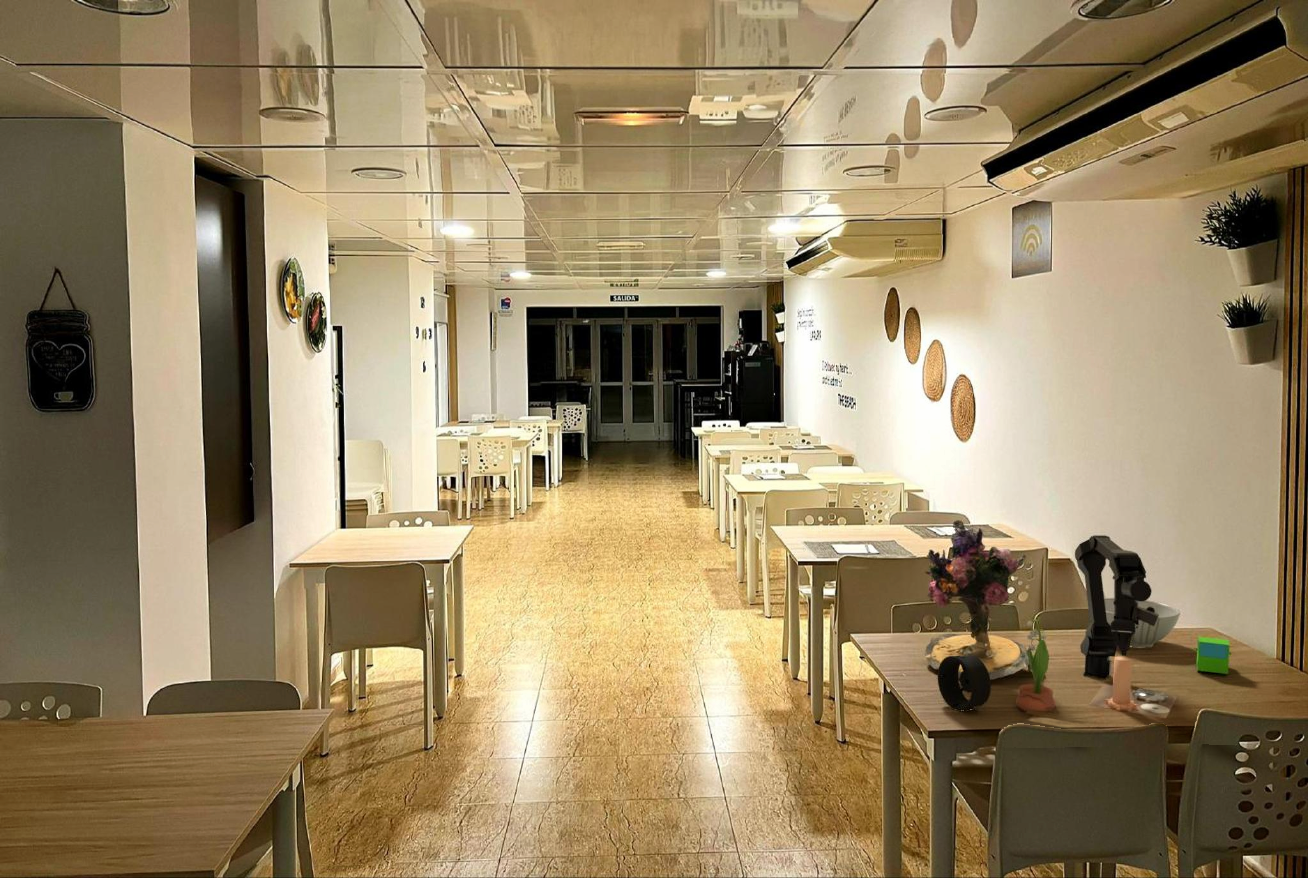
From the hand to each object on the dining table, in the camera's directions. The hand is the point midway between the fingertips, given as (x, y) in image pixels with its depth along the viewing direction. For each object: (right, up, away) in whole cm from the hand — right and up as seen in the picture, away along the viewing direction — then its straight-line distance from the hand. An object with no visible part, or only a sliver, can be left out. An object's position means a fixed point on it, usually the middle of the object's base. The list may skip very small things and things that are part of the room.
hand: (1125, 653), depth 302 cm
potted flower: (-29, -13, -11) cm, 34 cm away
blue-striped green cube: (+38, -11, +27) cm, 48 cm away
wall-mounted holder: (-47, -13, -10) cm, 50 cm away
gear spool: (-7, -12, -12) cm, 18 cm away
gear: (+4, -11, -5) cm, 13 cm away
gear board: (-1, -13, -7) cm, 15 cm away
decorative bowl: (+27, -8, +55) cm, 62 cm away
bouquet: (-33, -10, +25) cm, 43 cm away
